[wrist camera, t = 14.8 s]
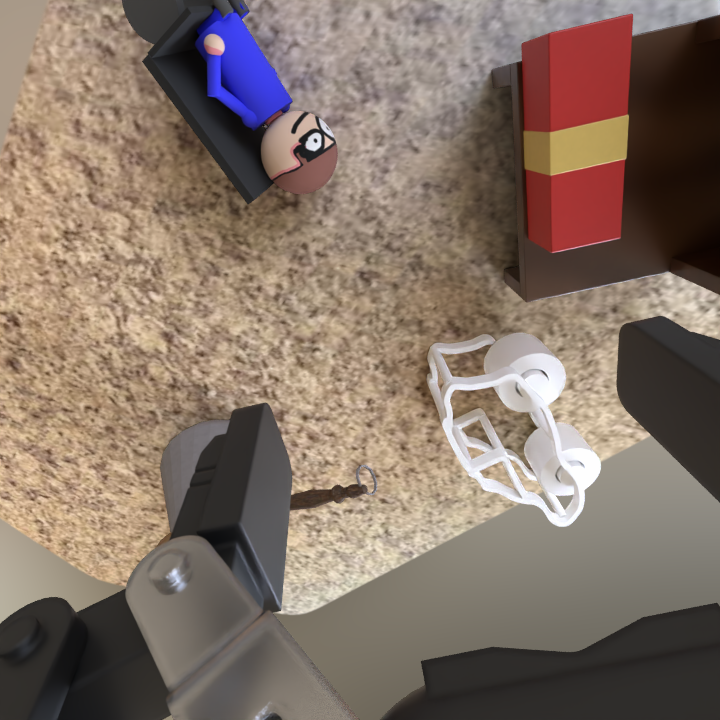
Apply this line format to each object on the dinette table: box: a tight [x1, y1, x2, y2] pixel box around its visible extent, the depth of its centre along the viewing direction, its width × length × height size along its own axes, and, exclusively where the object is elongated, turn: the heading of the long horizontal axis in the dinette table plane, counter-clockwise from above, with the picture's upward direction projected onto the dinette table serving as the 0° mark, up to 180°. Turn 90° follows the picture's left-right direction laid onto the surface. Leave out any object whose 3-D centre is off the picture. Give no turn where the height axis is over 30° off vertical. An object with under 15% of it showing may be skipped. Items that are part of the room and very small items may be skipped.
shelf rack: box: [492, 15, 720, 302], centre depth 29 cm, size 16×16×17 cm
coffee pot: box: [156, 420, 377, 548], centre depth 39 cm, size 21×12×15 cm, turn 123°
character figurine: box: [122, 0, 338, 204], centre depth 30 cm, size 8×7×15 cm
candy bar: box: [521, 14, 633, 253], centre depth 29 cm, size 12×5×4 cm, turn 11°
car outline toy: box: [427, 333, 601, 526], centre depth 43 cm, size 20×11×7 cm, turn 29°
